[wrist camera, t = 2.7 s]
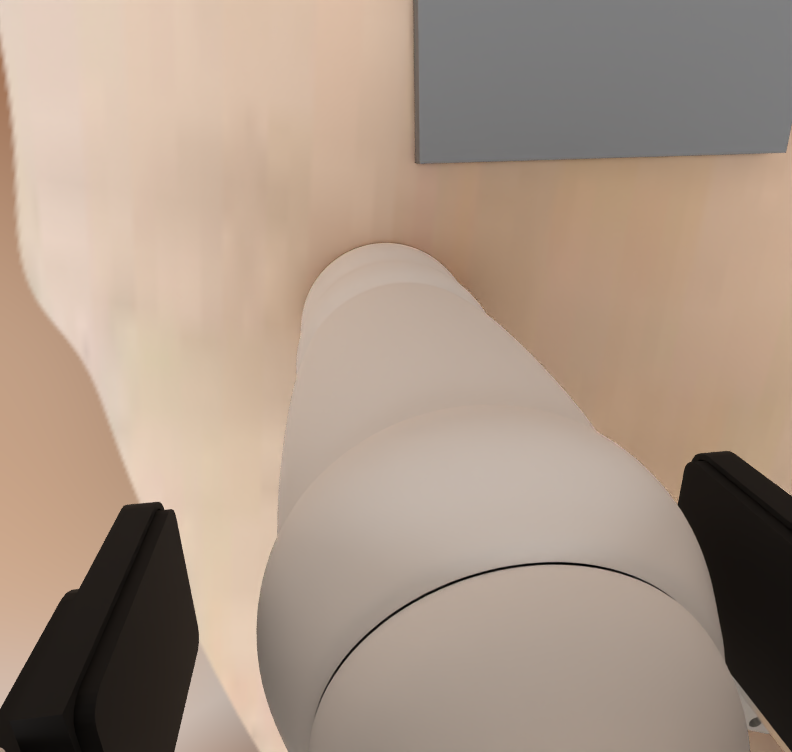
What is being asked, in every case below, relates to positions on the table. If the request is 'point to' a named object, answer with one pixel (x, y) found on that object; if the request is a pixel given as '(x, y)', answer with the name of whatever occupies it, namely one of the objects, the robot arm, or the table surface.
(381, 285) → the water bottle
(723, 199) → the table surface
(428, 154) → the slate mat
